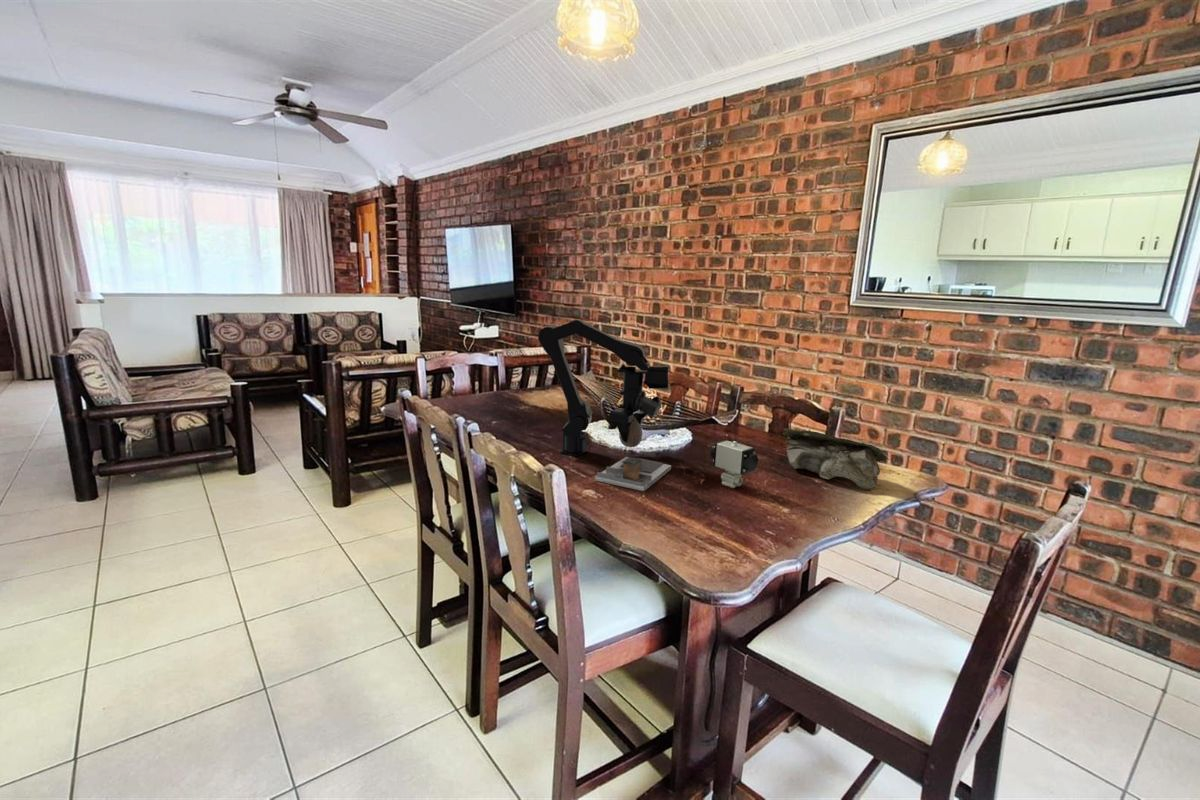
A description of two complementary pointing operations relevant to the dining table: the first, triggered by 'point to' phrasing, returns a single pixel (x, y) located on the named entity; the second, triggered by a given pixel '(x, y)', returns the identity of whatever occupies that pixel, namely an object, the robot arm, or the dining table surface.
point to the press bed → (647, 477)
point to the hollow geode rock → (834, 456)
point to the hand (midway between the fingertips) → (630, 438)
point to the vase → (633, 435)
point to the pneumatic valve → (733, 461)
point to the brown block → (631, 468)
